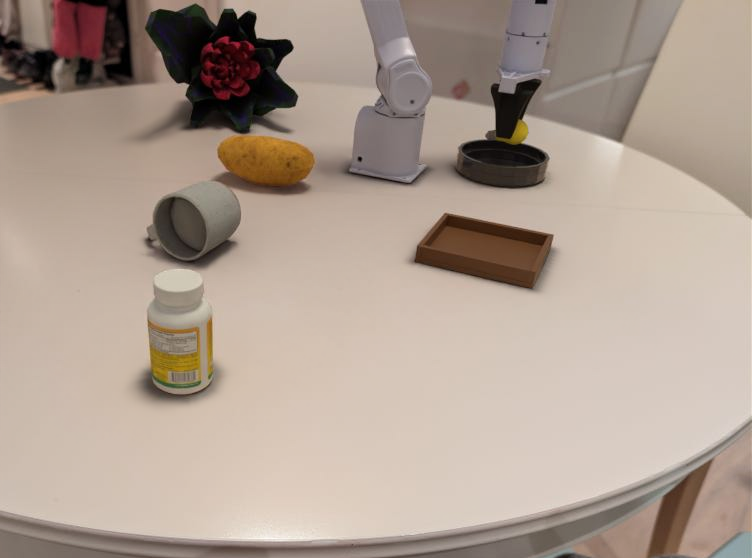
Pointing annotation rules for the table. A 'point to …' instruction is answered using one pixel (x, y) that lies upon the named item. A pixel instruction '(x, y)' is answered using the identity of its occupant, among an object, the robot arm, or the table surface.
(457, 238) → the tray
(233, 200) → the ceramic mug
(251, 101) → the decorative plant
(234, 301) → the table surface
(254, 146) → the potato
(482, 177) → the pan
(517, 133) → the light bulb
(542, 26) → the robot arm
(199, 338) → the supplement bottle
